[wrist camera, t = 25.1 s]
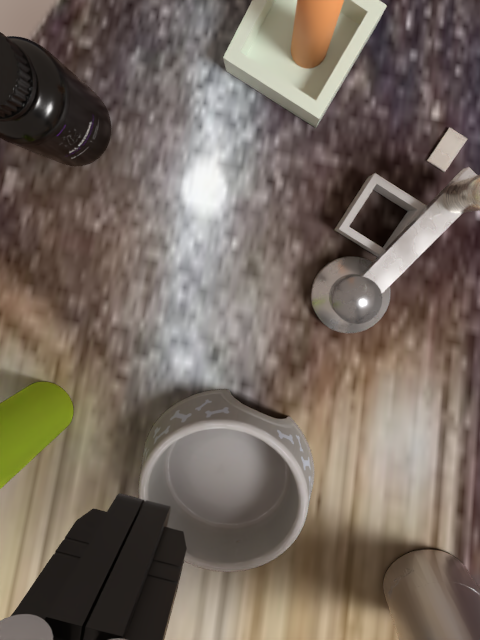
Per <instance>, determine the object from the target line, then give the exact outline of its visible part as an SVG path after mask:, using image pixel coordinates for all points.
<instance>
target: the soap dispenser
mask: <svg viewBox="0 0 480 640" xmlns="http://www.w3.org/2000/svg"><path fill="white" fill-rule="evenodd" d="M72 418H73V404H72V401H71V399H70V397H69V395H68V394H67V393H66V392H65V391H64V390H63V389H62V388H61V387H59V386H58V385H56V384H53V383H50V382H36V383H33V384H31V385H29V386H28V387H26V388H25V389H23V390H21V391H20V392H18V393H16V394H15V395H13V396H11V397H10V398H8V399H7V400H5V401H3V402H2V403H0V489H1V488H2V487H3V486H4V485H5V484H6V483H7V482H8V481H9V480H10V479H12V478H13V477H14V476H15V475H16V474H17V473H18V472H19V471H20V470H21V469H22V468H23V467H24V466H26V465H27V464H28V463H29V462H30V461H31V460H32V459H33V458H34V457H35V456H36V455H37V454H38V453H39V452H41V451H42V450H43V449H44V448H45V447H46V446H47V445H48V444H49V443H50V442H51V441H52V440H53V439H54V438H56V437H57V436H58V435H59V434H60V433H61V432H62V431H63V430H64V429H65V428H66V427H67V426H68V425H69V424H70V422H71V420H72Z"/></svg>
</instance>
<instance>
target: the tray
mask: <svg viewBox="0 0 480 640" xmlns="http://www.w3.org/2000/svg"><path fill="white" fill-rule="evenodd" d="M296 6H297V0H252V2H251V4H250V6H249V8H248V10H247V12H246V14H245V16H244V18H243V20H242V22H241V23H240V25H239V27H238V29H237V31H236V33H235V35H234V37H233V39H232V41H231V43H230V45H229V47H228V49H227V51H226V53H225V55H224V57H223V60H224V64H225V67H226V71H227V72H228V73H230V74H232V75H233V76H235V77H236V78H238V79H239V80H241V81H243V82H244V83H246V84H247V85H249V86H250V87H252V88H254V89H255V90H257V91H258V92H260V93H261V94H263V95H265V96H266V97H268V98H269V99H271V100H272V101H274V102H276V103H277V104H279V105H280V106H282V107H283V108H285V109H287V110H288V111H290V112H291V113H293V114H294V115H296V116H298V117H299V118H301V119H302V120H304V121H305V122H307V123H309V124H310V125H312V126H313V127H315V128H316V127H317V125H318V124H319V122H320V120H321V119H322V117H323V115H324V114H325V112H326V110H327V108H328V107H329V105H330V103H331V102H332V100H333V98H334V97H335V95H336V93H337V92H338V90H339V88H340V86H341V85H342V83H343V81H344V80H345V78H346V76H347V75H348V73H349V71H350V70H351V68H352V66H353V64H354V63H355V61H356V59H357V58H358V56H359V54H360V53H361V51H362V49H363V48H364V46H365V44H366V42H367V41H368V39H369V37H370V36H371V34H372V32H373V31H374V29H375V27H376V26H377V24H378V22H379V20H380V18H381V16H382V14H383V12H384V10H385V8H386V6H387V5H385V4H384V3H382V2H381V1H379V0H344V2H343V5H342V8H341V11H340V14H339V17H338V21H337V24H336V27H335V30H334V33H333V36H332V39H331V42H330V45H329V48H328V51H327V54H326V57H325V59H324V60H323V61H322V62H321V64H319V65H318V66H316V67H314V68H309V69H307V68H302V67H300V66H299V65H297V64H296V63H295V61H294V60H293V58H292V55H291V42H292V35H293V28H294V20H295V13H296Z"/></svg>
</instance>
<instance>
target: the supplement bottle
mask: <svg viewBox="0 0 480 640" xmlns="http://www.w3.org/2000/svg"><path fill="white" fill-rule="evenodd" d="M110 136H111V122H110V117H109V114H108V111H107V109H106V107H105V105H104V103H103V102H102V100H101V99H100V98H99V97H98V96H97V95H96V94H95V93H94V92H93V91H92V90H91V89H90V88H89V87H88V86H87V85H86V84H85V83H83V82H82V81H81V80H80V79H79V78H78V77H77V76H76V75H74V74H73V73H72V72H71V71H70V70H69V69H68V68H67V67H66V66H64V65H63V64H62V63H61V62H60V61H59V60H58V59H57V58H55V57H54V56H53V55H52V54H51V53H50V52H49V51H47V50H46V49H45V48H43V47H42V46H41V45H39V44H37V43H36V42H34V41H31V40H29V39H26V38H22V37H14V36H9V37H6V36H5V35H4V34H2V33H1V32H0V138H2V139H4V140H5V141H7V142H10V143H12V144H15V145H17V146H20V147H22V148H25V149H27V150H30V151H32V152H35V153H37V154H40V155H42V156H45V157H47V158H50V159H52V160H55V161H57V162H60V163H63V164H66V165H70V166H83V165H87V164H90V163H92V162H94V161H95V160H97V159H98V158H99V157H100V156H101V155H102V154H103V153H104V151H105V150H106V148H107V146H108V143H109V140H110Z"/></svg>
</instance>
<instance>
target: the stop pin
mask: <svg viewBox="0 0 480 640" xmlns="http://www.w3.org/2000/svg"><path fill="white" fill-rule="evenodd" d="M343 2H344V0H297V6H296V13H295V20H294V28H293V35H292V42H291V55H292V58H293V60H294V61H295V63H296V64H297V65H299V66H300V67H302V68H307V69H309V68H314V67H316V66H318V65H319V64H321V62H322V61H323V60H324V59H325V57H326V54H327V51H328V48H329V45H330V42H331V39H332V36H333V33H334V30H335V27H336V24H337V21H338V17H339V14H340V11H341V8H342V5H343Z"/></svg>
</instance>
